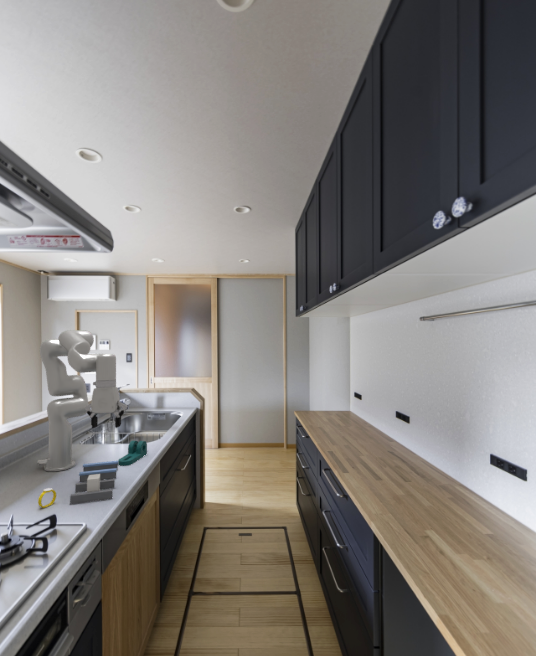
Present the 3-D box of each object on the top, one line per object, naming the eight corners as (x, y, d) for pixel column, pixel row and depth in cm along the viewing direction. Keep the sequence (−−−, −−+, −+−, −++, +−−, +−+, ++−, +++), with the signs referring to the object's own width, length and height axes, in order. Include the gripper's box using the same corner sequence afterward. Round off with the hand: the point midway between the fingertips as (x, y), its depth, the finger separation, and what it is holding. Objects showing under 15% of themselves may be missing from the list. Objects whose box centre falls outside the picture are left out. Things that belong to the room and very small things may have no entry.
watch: (52, 502, 132) (53, 486, 133) (57, 504, 131) (58, 487, 132) (35, 508, 127) (37, 491, 127) (41, 510, 125) (42, 492, 126)
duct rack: (69, 504, 130) (69, 493, 130) (83, 472, 161) (83, 463, 161) (112, 498, 135) (113, 488, 135) (118, 468, 166) (118, 460, 166)
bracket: (134, 454, 188) (134, 439, 188) (146, 454, 187) (147, 439, 188) (115, 466, 170) (115, 449, 171) (128, 466, 169) (129, 449, 170)
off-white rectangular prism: (86, 498, 135) (87, 479, 135) (88, 493, 140) (88, 475, 140) (98, 497, 136) (98, 478, 137) (99, 491, 141) (100, 473, 141)
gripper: (80, 386, 144) (80, 429, 143) (122, 385, 143) (122, 428, 142) (90, 384, 151) (90, 425, 150) (130, 383, 150) (131, 424, 149)
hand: (106, 427), depth 146 cm, fingers open, 9 cm apart
